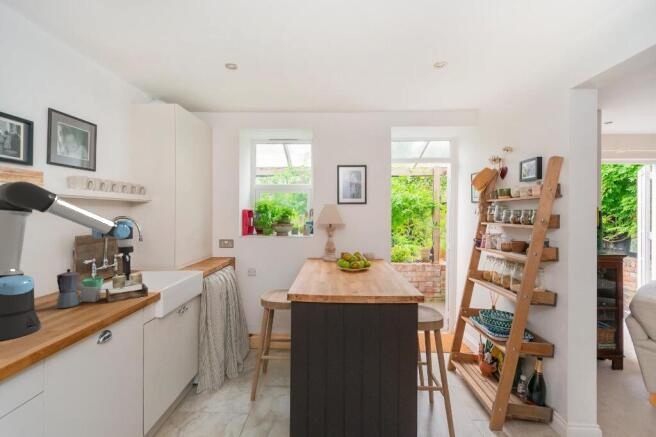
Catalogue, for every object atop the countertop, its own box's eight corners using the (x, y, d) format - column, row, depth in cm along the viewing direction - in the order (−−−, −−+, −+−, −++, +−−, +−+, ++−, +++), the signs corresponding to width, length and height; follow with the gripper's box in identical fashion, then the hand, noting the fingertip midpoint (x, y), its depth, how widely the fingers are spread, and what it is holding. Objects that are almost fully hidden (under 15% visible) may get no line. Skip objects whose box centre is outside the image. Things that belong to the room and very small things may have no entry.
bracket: (99, 301, 164) (101, 284, 164) (94, 303, 160) (96, 286, 160) (77, 299, 162) (80, 282, 162) (72, 302, 158) (74, 284, 158)
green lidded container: (100, 296, 169) (100, 280, 169) (79, 298, 165) (79, 281, 165) (108, 290, 183) (108, 275, 182) (89, 292, 179) (89, 276, 179)
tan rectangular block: (113, 288, 162) (113, 278, 162) (112, 286, 166) (112, 276, 166) (142, 283, 172) (141, 274, 171) (140, 282, 175) (140, 272, 175)
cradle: (108, 302, 157) (107, 294, 157) (106, 297, 167) (105, 289, 167) (148, 295, 170) (147, 287, 170) (143, 291, 180) (143, 283, 180)
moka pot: (85, 301, 161) (84, 266, 160) (71, 309, 146) (70, 271, 146) (64, 303, 157) (63, 267, 157) (48, 312, 143) (47, 273, 142)
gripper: (135, 246, 164) (137, 286, 164) (131, 244, 177) (132, 280, 178) (119, 248, 159) (121, 289, 159) (116, 245, 172) (117, 283, 173)
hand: (127, 284), depth 168 cm, fingers closed on tan rectangular block, 5 cm apart
